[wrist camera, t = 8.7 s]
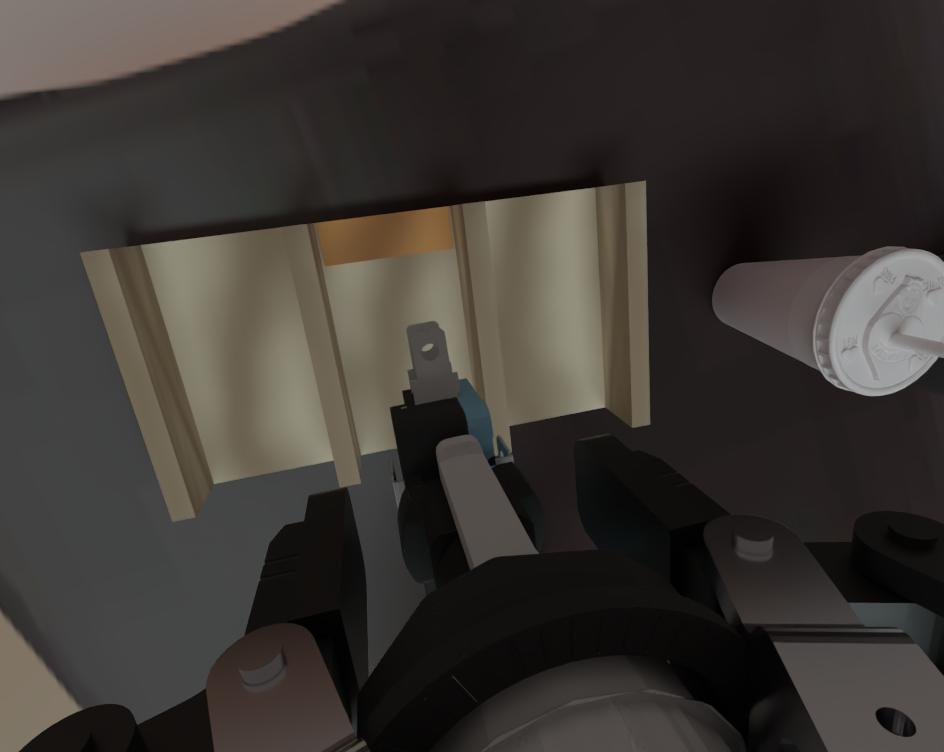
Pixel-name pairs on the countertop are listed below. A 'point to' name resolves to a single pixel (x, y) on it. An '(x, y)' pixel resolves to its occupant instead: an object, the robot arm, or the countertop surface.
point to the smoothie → (844, 314)
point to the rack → (373, 329)
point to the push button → (530, 612)
